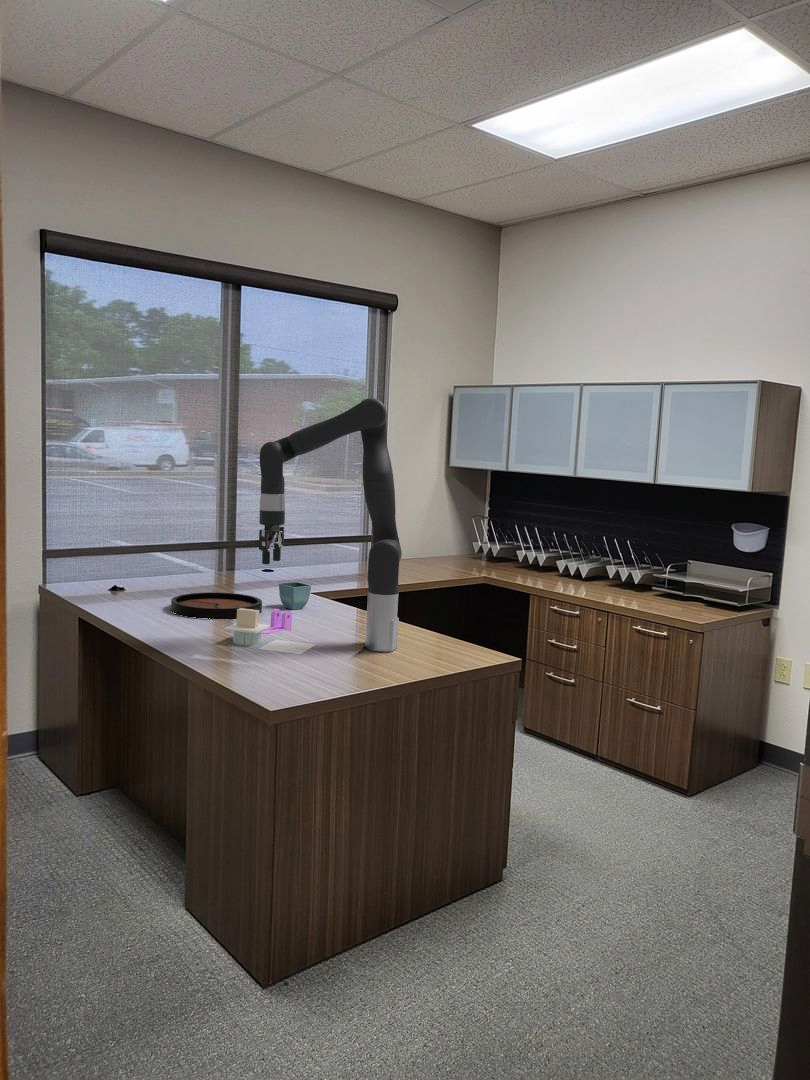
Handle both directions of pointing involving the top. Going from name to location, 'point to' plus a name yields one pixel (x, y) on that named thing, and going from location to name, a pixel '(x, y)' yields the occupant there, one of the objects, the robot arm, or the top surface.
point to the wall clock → (213, 605)
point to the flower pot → (294, 594)
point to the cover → (247, 622)
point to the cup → (246, 638)
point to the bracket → (279, 621)
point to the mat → (287, 646)
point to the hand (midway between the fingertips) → (271, 562)
